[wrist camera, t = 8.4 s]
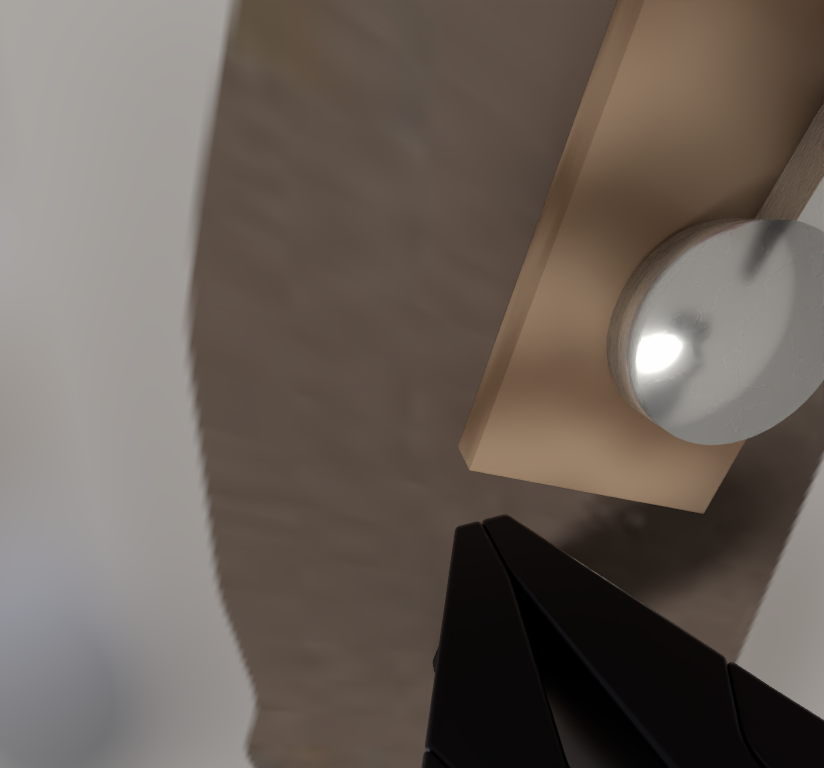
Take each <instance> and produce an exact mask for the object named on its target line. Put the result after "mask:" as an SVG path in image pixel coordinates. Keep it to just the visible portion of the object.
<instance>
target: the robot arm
mask: <svg viewBox="0 0 824 768" xmlns="http://www.w3.org/2000/svg"><path fill="white" fill-rule="evenodd" d="M433 668H434V671H435V678H434V685H433V692H432V699H431V707H430V714H429V721H428V728H427V735H426V742H425V748H426V752H425V753H424V755H423V761H422V768H824V720H823V719H821V718H820V717H818V716H816V715H815V714H813V713H812V712H810V711H809V710H807V709H805V708H804V707H802V706H800V705H799V704H797V703H796V702H794V701H793V700H791V699H790V698H788V697H786V696H785V695H783V694H782V693H780V692H778V691H777V690H775V689H774V688H772V687H770V686H769V685H767V684H766V683H764V682H763V681H761V680H760V679H758V678H756V677H755V676H754V675H752V674H751V673H749V672H748V671H746V670H744V669H743V668H741V667H740V666H738V665H737V664H735V663H733V662H730V663H729V664H727V660H726V658H725V657H724V656H723V655H721V654H720V653H718V652H717V651H715V650H713V649H712V648H710V647H709V646H707V645H706V644H704V643H703V642H701V641H700V640H698V639H697V638H695V637H694V636H692V635H691V634H689V633H688V632H686V631H684V630H683V629H681V628H680V627H678V626H677V625H675V624H674V623H672V622H671V621H669V620H668V619H666V618H665V617H663V616H662V615H660V614H659V613H657V612H655V611H654V610H652V609H651V608H649V607H648V606H646V605H645V604H643V603H642V602H640V601H639V600H637V599H636V598H634V597H633V596H631V595H630V594H628V593H626V592H625V591H623V590H622V589H620V588H619V587H617V586H616V585H614V584H613V583H611V582H610V581H608V580H607V579H605V578H604V577H602V576H601V575H599V574H598V573H596V572H594V571H593V570H591V569H590V568H588V567H587V566H585V565H584V564H582V563H581V562H579V561H578V560H576V559H575V558H573V557H572V556H570V555H569V554H567V553H565V552H564V551H562V550H561V549H559V548H558V547H556V546H555V545H553V544H552V543H550V542H549V541H547V540H546V539H544V538H543V537H541V536H540V535H538V534H536V533H535V532H533V531H532V530H530V529H529V528H527V527H526V526H524V525H523V524H521V523H520V522H518V521H517V520H515V519H514V518H512V517H511V516H509V515H500V516H496V517H492V518H488V519H485V520H484V521H483V522H482V524H481V523H480V522H473V523H469V524H465V525H461V526H458V527H457V528H456V530H455V534H454V542H453V549H452V556H451V563H450V570H449V577H448V585H447V592H446V599H445V606H444V613H443V620H442V628H441V635H440V642H439V647H438V650H437V652H436V655H435V657H434V659H433Z"/></svg>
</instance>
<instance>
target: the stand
mask: <svg viewBox="0 0 824 768" xmlns="http://www.w3.org/2000/svg"><path fill="white" fill-rule="evenodd" d="M823 102H824V0H617V3H616V5H615V8H614V11H613V14H612V17H611V19H610V22H609V25H608V28H607V31H606V33H605V36H604V39H603V42H602V45H601V47H600V50H599V53H598V56H597V59H596V61H595V64H594V67H593V70H592V73H591V75H590V78H589V81H588V84H587V87H586V89H585V92H584V95H583V98H582V101H581V103H580V106H579V109H578V112H577V115H576V117H575V120H574V123H573V126H572V129H571V131H570V134H569V137H568V140H567V143H566V145H565V148H564V151H563V154H562V157H561V160H560V162H559V165H558V168H557V171H556V174H555V176H554V179H553V182H552V185H551V188H550V190H549V193H548V196H547V199H546V202H545V204H544V207H543V210H542V213H541V216H540V218H539V221H538V224H537V227H536V230H535V232H534V235H533V238H532V241H531V244H530V246H529V249H528V252H527V255H526V258H525V260H524V263H523V266H522V269H521V272H520V274H519V277H518V280H517V283H516V286H515V288H514V291H513V294H512V297H511V300H510V302H509V305H508V308H507V311H506V314H505V316H504V319H503V322H502V325H501V328H500V330H499V333H498V336H497V339H496V342H495V344H494V347H493V350H492V353H491V356H490V358H489V361H488V364H487V367H486V370H485V372H484V375H483V378H482V381H481V384H480V386H479V389H478V392H477V395H476V398H475V400H474V403H473V406H472V409H471V412H470V415H469V417H468V420H467V423H466V426H465V429H464V431H463V434H462V437H461V440H460V443H459V445H458V448H459V450H460V452H461V454H462V456H463V458H464V460H465V462H466V464H467V466H468V468H469V470H472V471H477V472H483V473H488V474H493V475H499V476H504V477H509V478H515V479H520V480H525V481H531V482H536V483H542V484H547V485H552V486H558V487H563V488H568V489H574V490H579V491H584V492H590V493H595V494H601V495H606V496H611V497H617V498H622V499H627V500H633V501H638V502H643V503H649V504H654V505H660V506H665V507H670V508H676V509H681V510H686V511H692V512H697V513H702V514H704V512H705V510H706V509H707V507H708V505H709V503H710V502H711V500H712V498H713V496H714V495H715V493H716V491H717V489H718V488H719V486H720V484H721V482H722V481H723V479H724V477H725V475H726V474H727V472H728V470H729V468H730V467H731V465H732V463H733V462H734V460H735V458H736V456H737V455H738V453H739V451H740V449H741V448H742V446H743V444H744V442H745V441H746V439H745V440H741V441H738V442H734V443H728V444H722V445H703V444H695V443H691V442H688V441H684V440H682V439H680V438H677V437H675V436H673V435H672V434H670V433H669V432H667V431H666V430H664V429H663V428H661V427H660V426H658V425H657V424H655V423H654V422H652V421H651V420H649V419H648V418H646V417H645V416H643V415H642V414H641V413H639V412H638V411H636V410H635V409H633V408H632V407H631V406H630V405H629V404H628V403H626V402H625V401H624V399H623V398H622V397H621V395H620V394H619V393H618V391H617V389H616V387H615V385H614V384H613V381H612V378H611V375H610V373H609V368H608V363H607V351H606V345H607V333H608V328H609V323H610V319H611V316H612V313H613V310H614V307H615V305H616V302H617V300H618V298H619V296H620V294H621V292H622V290H623V288H624V287H625V285H626V283H627V282H628V280H629V278H630V277H631V276H632V274H633V273H634V272H635V270H636V269H637V268H638V266H639V265H640V264H641V263H642V262H643V261H644V260H645V259H646V258H647V257H648V256H649V254H651V253H652V252H653V251H654V250H655V249H656V248H658V247H659V246H660V245H661V244H662V243H664V242H665V241H667V240H668V239H670V238H671V237H672V236H674V235H676V234H678V233H679V232H681V231H683V230H685V229H687V228H689V227H692V226H695V225H697V224H700V223H703V222H707V221H712V220H717V219H728V218H729V219H755V218H756V217H757V215H758V213H759V211H760V210H761V208H762V206H763V205H764V203H765V201H766V199H767V198H768V196H769V194H770V193H771V191H772V189H773V187H774V186H775V184H776V182H777V181H778V179H779V177H780V176H781V174H782V172H783V170H784V169H785V167H786V165H787V164H788V162H789V160H790V158H791V157H792V155H793V153H794V152H795V150H796V148H797V146H798V145H799V143H800V141H801V140H802V138H803V136H804V134H805V133H806V131H807V129H808V128H809V126H810V124H811V123H812V121H813V119H814V117H815V116H816V114H817V112H818V111H819V109H820V107H821V105H822V104H823Z"/></svg>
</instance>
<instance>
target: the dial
mask: <svg viewBox="0 0 824 768" xmlns="http://www.w3.org/2000/svg"><path fill="white" fill-rule="evenodd" d="M606 351H607V363H608V368H609V373H610V375H611V378H612V381H613V384H614V385H615V387H616V389H617V391H618V393H619V394H620V395H621V397H622V398H623V399H624V401H625V402H626V403H628V404H629V405H630V406H631V407H632V408H633V409H635V410H636V411H638V412H639V413H641V414H642V415H643V416H645V417H646V418H648V419H649V420H651V421H652V422H654V423H655V424H657V425H658V426H660V427H661V428H663V429H664V430H666V431H667V432H669V433H670V434H672V435H673V436H675V437H677V438H680V439H682V440H684V441H688V442H691V443H695V444H703V445H722V444H728V443H734V442H738V441H741V440H745V439H748V438H750V437H753V436H755V435H758V434H760V433H762V432H764V431H766V430H768V429H770V428H772V427H773V426H775V425H776V424H778V423H779V422H781V421H783V420H784V419H785V418H787V417H788V416H789V415H791V414H792V413H793V412H794V411H796V410H797V409H798V408H799V407H800V406H801V405H802V404H803V403H804V402H805V401H806V400H807V399H808V398H809V397H810V396H811V395H812V394H813V393H814V392H815V391H816V389H817V388H818V387H819V385H820V384H821V383H822V382H823V380H824V102H823V104H822V105H821V107H820V109H819V111H818V112H817V114H816V116H815V117H814V119H813V121H812V123H811V124H810V126H809V128H808V129H807V131H806V133H805V134H804V136H803V138H802V140H801V141H800V143H799V145H798V146H797V148H796V150H795V152H794V153H793V155H792V157H791V158H790V160H789V162H788V164H787V165H786V167H785V169H784V170H783V172H782V174H781V176H780V177H779V179H778V181H777V182H776V184H775V186H774V187H773V189H772V191H771V193H770V194H769V196H768V198H767V199H766V201H765V203H764V205H763V206H762V208H761V210H760V211H759V213H758V215H757V217H756V218H755V219H729V218H728V219H717V220H712V221H707V222H703V223H700V224H697V225H695V226H692V227H689V228H687V229H685V230H683V231H681V232H679V233H678V234H676V235H674V236H672V237H671V238H670V239H668V240H667V241H665V242H664V243H662V244H661V245H660V246H659V247H658V248H656V249H655V250H654V251H653V252H652V253H651V254H649V256H648V257H647V258H646V259H645V260H644V261H643V262H642V263H641V264H640V265H639V266H638V268H637V269H636V270H635V272H634V273H633V274H632V276H631V277H630V278H629V280H628V282H627V283H626V285H625V287H624V288H623V290H622V292H621V294H620V296H619V298H618V300H617V302H616V305H615V307H614V310H613V313H612V316H611V319H610V323H609V328H608V333H607V345H606Z"/></svg>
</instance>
